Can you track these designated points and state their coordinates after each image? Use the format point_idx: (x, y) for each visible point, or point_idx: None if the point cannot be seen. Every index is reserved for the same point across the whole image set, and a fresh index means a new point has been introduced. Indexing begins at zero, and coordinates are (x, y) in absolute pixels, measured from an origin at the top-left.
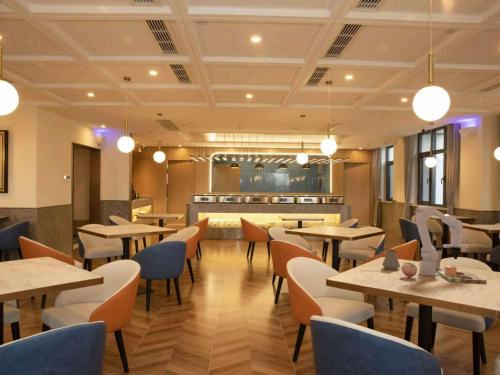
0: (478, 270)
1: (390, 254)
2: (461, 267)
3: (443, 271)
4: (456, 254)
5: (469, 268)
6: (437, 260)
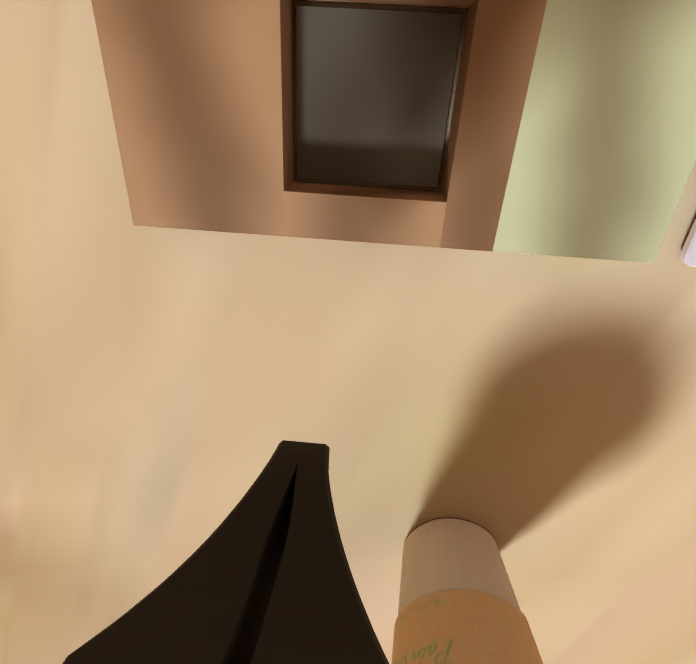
0: (31, 493)
1: None
2: None
3: (585, 217)
4: (272, 532)
5: (103, 557)
6: (467, 611)
